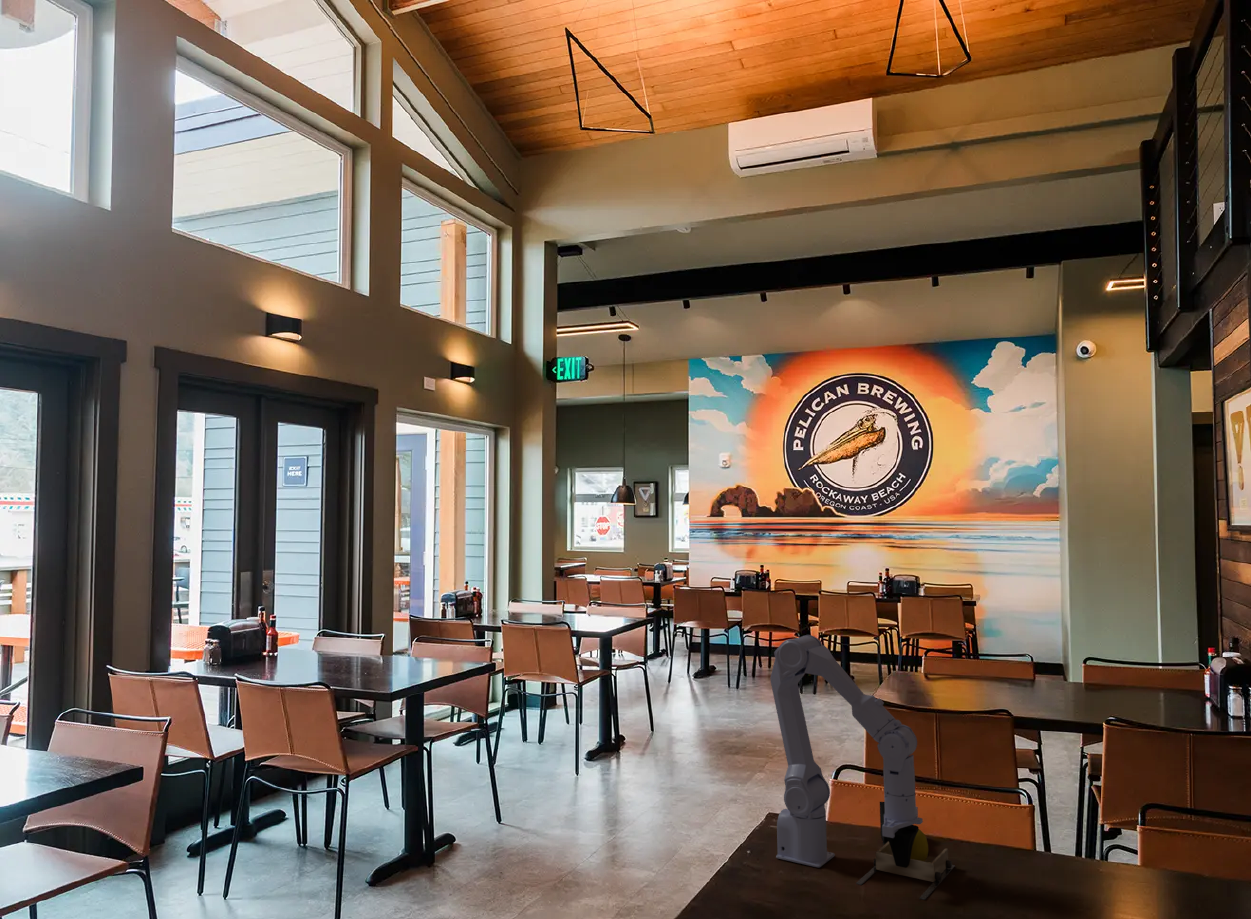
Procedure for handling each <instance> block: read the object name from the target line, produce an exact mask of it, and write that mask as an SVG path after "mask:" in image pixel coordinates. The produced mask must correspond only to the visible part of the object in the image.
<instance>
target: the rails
mask: <svg viewBox="0 0 1251 919" xmlns="http://www.w3.org/2000/svg"><path fill="white" fill-rule="evenodd" d="M955 867H956V866H955V864H952V867H951V869H950V868H946V869H945V870H944V871H943V872H942V873H941V880H935V881H934V882H932V883H931V884H930V885H929V886H928V887H927V889H926V890H925V891H924V892H923V893H922V894H921V895H920V897H919V900H924V901H925V900H927V899H928V898H929V897H930V896H931V894H932V893H933V892H934V891H935V890H936V889H937V887H938V886H939V885H940V884H941V883H942V882H943V881H944V880H945V878H947V876H948V875H949V874H950V872H951V871H953V869H954V868H955ZM876 872H878V870H876V867H875V866H874V865H873V867H872V868H871V869H870V870H868V871H867V873H866V874H864V875H863V876H862V877H861V878H860V879H859V880H858V881H857V882H856V883H855V884H856V885H859V886H862V885H863V884H865V882H866V881H868V880H869V879H870V878H871V877H872V876H873V875H875V873H876Z"/></svg>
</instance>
